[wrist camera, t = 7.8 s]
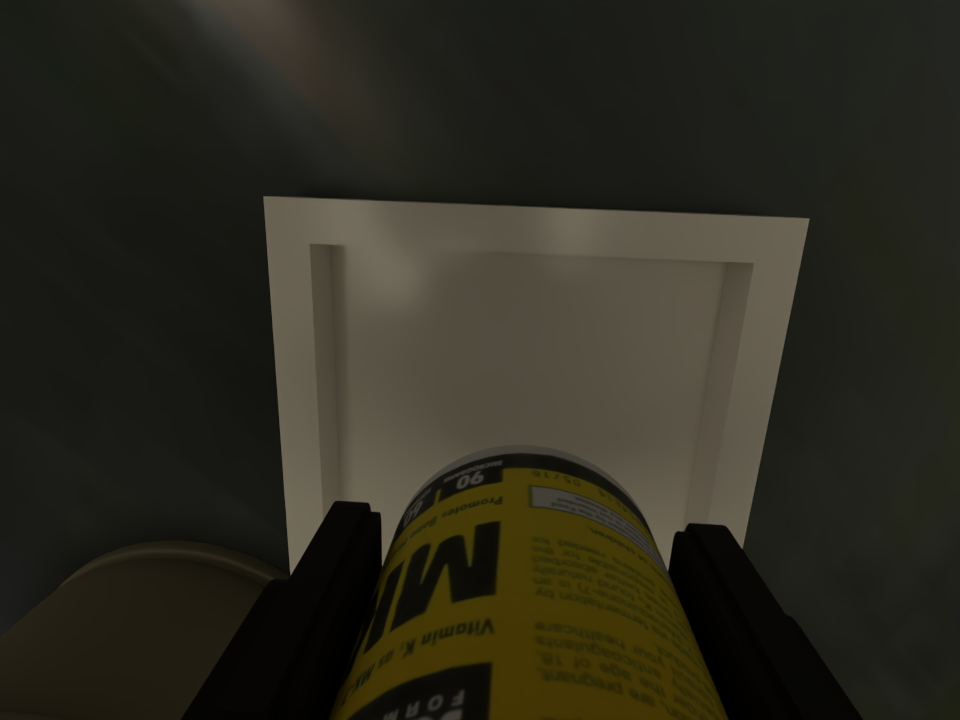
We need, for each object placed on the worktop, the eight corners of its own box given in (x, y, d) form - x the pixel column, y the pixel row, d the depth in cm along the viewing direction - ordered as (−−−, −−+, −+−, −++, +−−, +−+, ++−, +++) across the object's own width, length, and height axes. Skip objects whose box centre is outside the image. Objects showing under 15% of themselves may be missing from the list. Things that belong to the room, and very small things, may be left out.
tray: (297, 196, 14) (263, 196, 12) (766, 215, 14) (809, 218, 12) (318, 583, 18) (294, 633, 16) (695, 609, 17) (719, 663, 15)
